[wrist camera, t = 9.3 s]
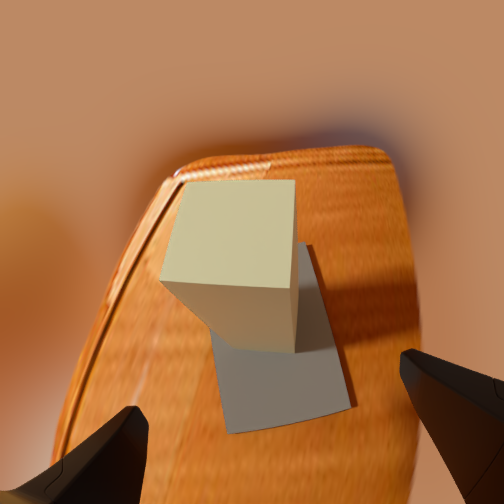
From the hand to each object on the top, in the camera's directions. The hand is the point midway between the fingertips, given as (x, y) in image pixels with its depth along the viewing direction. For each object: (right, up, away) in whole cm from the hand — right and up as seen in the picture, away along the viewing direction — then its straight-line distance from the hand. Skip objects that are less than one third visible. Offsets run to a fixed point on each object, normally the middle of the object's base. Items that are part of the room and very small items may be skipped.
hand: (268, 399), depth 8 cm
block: (+1, -1, +13) cm, 13 cm away
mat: (+1, -2, +13) cm, 14 cm away
